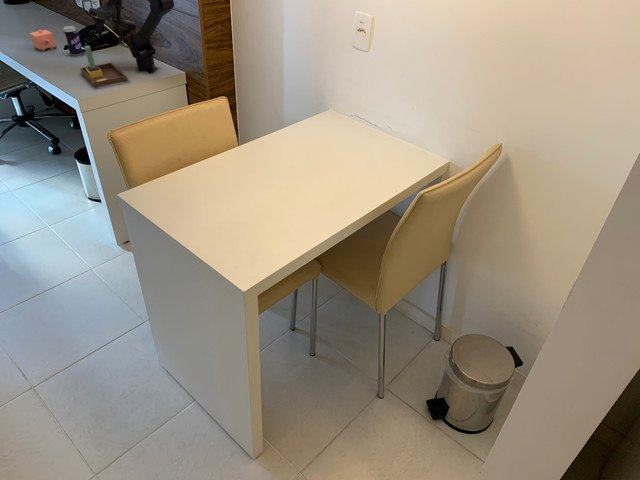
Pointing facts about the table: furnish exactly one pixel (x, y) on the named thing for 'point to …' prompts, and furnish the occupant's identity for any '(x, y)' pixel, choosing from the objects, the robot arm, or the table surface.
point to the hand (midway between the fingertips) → (109, 40)
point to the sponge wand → (92, 64)
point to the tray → (106, 75)
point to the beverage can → (72, 40)
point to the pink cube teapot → (43, 39)
